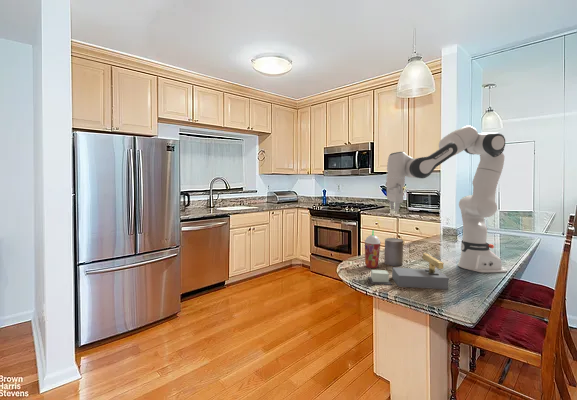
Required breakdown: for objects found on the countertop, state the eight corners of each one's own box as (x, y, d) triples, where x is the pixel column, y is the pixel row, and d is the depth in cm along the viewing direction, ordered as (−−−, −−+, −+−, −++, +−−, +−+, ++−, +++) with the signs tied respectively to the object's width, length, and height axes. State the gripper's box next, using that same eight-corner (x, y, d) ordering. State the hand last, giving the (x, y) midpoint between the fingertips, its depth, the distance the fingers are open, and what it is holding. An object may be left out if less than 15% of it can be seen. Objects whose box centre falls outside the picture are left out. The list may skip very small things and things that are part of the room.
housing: (437, 279, 143) (438, 268, 143) (448, 289, 132) (448, 276, 131) (392, 277, 146) (392, 266, 145) (398, 286, 134) (398, 274, 133)
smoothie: (380, 265, 165) (381, 229, 163) (379, 270, 157) (380, 232, 155) (364, 263, 167) (365, 228, 166) (362, 268, 160) (364, 230, 158)
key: (421, 267, 146) (422, 253, 145) (426, 267, 146) (427, 253, 145) (437, 278, 130) (438, 263, 129) (443, 278, 130) (444, 263, 129)
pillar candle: (399, 261, 173) (400, 235, 172) (404, 266, 163) (405, 239, 162) (382, 261, 174) (383, 235, 173) (386, 266, 164) (386, 238, 163)
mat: (387, 278, 144) (387, 277, 144) (391, 285, 135) (391, 284, 135) (368, 277, 145) (368, 276, 145) (371, 284, 136) (371, 283, 136)
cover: (386, 278, 143) (386, 270, 142) (388, 282, 138) (388, 273, 137) (370, 278, 143) (371, 269, 143) (372, 281, 138) (373, 273, 138)
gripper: (407, 184, 145) (406, 212, 146) (396, 183, 165) (395, 208, 166) (393, 184, 146) (392, 212, 147) (385, 183, 166) (383, 208, 167)
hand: (394, 210), depth 157 cm, fingers open, 8 cm apart
